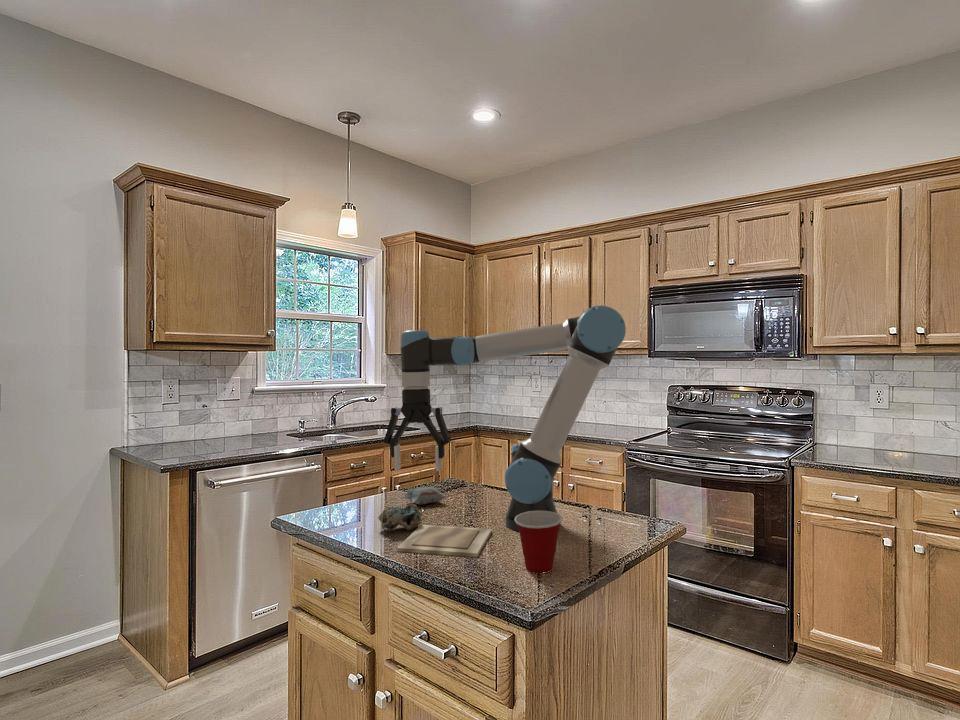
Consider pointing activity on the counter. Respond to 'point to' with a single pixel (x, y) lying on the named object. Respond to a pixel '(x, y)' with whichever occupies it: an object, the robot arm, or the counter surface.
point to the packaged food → (425, 495)
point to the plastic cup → (538, 538)
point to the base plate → (446, 540)
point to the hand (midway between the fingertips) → (417, 469)
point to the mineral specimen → (401, 517)
